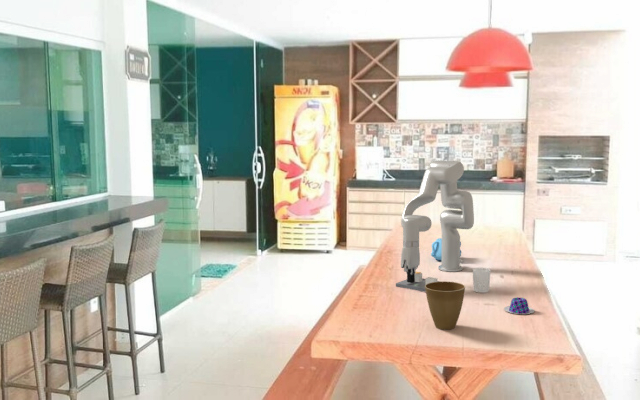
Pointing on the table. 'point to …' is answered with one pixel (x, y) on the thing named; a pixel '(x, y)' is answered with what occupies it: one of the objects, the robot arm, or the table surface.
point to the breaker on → (430, 280)
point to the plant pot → (445, 303)
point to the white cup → (481, 279)
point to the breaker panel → (413, 285)
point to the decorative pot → (438, 249)
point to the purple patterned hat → (519, 306)
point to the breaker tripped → (418, 276)
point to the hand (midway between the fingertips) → (410, 282)
